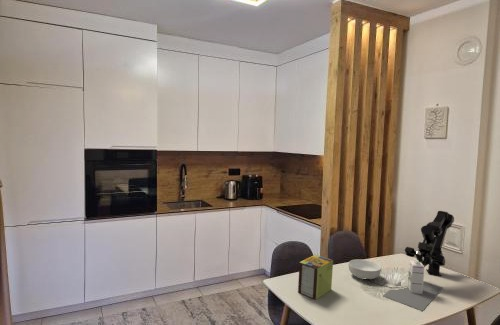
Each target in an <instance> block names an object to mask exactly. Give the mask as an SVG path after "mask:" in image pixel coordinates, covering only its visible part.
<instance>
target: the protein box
mask: <svg viewBox="0 0 500 325" xmlns="http://www.w3.org/2000/svg"><path fill="white" fill-rule="evenodd" d="M298 266H299V267H298V268H299V270H298V286H297V287H298V288H297V293H299V294H301V295H304V296H306V297H308V298H310V299H313V300H314V301H315V300H316V301H317V299H319V298H321V297H322V296H325V294H327V293H328V292H330V291H331V290H332V284H333V283H332V282H333V270H334V259H331V258H328V257H324V256H322V255H318V254H314V255H312V256H310V257H306V258H305V259H304V260H301V261H299V265H298Z"/></svg>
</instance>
